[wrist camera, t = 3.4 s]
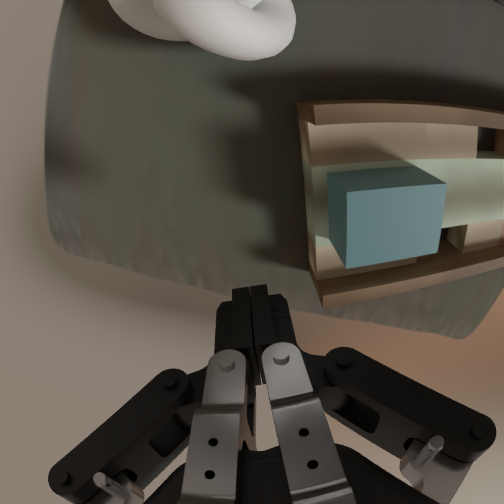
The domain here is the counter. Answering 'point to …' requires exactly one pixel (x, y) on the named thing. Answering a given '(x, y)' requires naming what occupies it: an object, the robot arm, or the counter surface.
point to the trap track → (400, 155)
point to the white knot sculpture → (215, 24)
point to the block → (384, 214)
